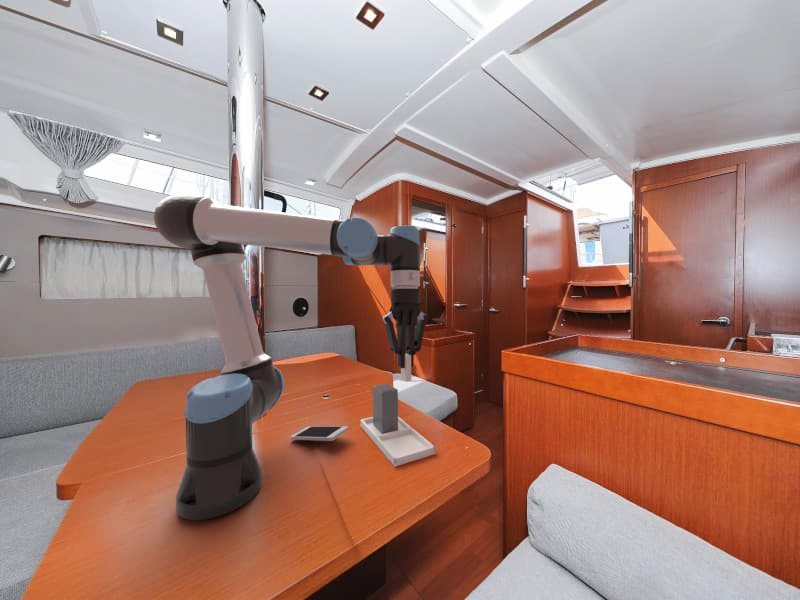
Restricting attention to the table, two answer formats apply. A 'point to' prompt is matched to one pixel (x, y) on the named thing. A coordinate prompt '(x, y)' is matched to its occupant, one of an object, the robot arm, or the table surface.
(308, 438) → the smartphone
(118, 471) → the table surface
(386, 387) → the dock
